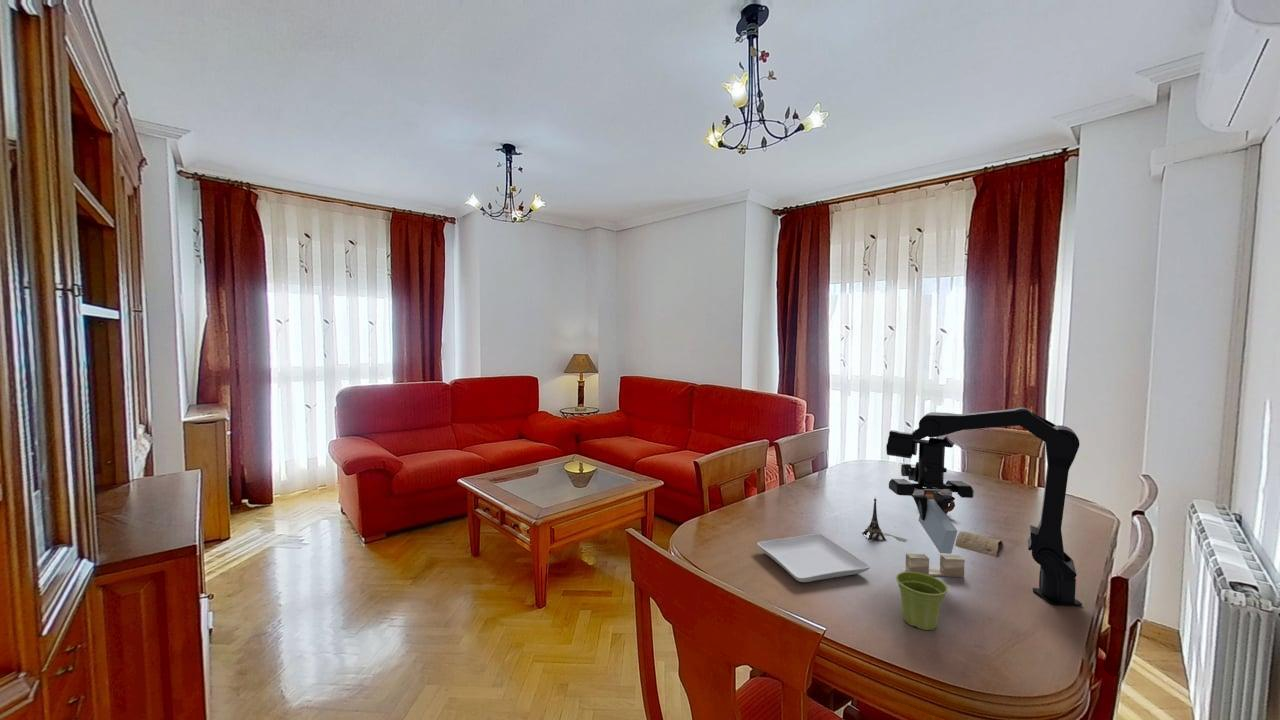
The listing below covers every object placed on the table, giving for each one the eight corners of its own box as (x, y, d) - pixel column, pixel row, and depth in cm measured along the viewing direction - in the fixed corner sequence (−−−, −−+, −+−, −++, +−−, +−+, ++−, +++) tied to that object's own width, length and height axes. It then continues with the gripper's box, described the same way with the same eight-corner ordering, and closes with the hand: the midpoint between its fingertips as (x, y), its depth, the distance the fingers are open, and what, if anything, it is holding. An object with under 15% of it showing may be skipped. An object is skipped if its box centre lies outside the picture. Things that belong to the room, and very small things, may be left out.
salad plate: (798, 591, 116) (798, 577, 116) (754, 552, 137) (754, 540, 136) (872, 579, 122) (873, 566, 121) (820, 544, 142) (820, 532, 142)
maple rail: (964, 577, 122) (964, 559, 122) (910, 575, 123) (910, 557, 123) (958, 572, 125) (958, 554, 124) (905, 570, 126) (905, 553, 125)
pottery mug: (911, 512, 168) (912, 489, 171) (927, 520, 172) (927, 497, 175) (948, 514, 158) (948, 489, 161) (964, 522, 162) (963, 497, 165)
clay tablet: (996, 560, 132) (997, 550, 132) (953, 549, 139) (953, 539, 139) (1003, 543, 143) (1003, 534, 143) (962, 533, 150) (963, 525, 150)
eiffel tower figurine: (908, 541, 144) (910, 497, 143) (895, 552, 137) (896, 505, 137) (858, 526, 155) (859, 485, 155) (843, 535, 149) (844, 492, 148)
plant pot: (927, 609, 108) (928, 571, 107) (956, 635, 98) (958, 593, 98) (886, 610, 108) (887, 571, 107) (911, 636, 98) (912, 594, 98)
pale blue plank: (951, 553, 119) (957, 530, 116) (940, 553, 119) (946, 530, 117) (928, 520, 130) (933, 499, 128) (918, 520, 130) (923, 498, 128)
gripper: (952, 454, 134) (949, 510, 135) (881, 452, 135) (879, 507, 136) (976, 465, 123) (973, 526, 124) (899, 463, 124) (896, 523, 125)
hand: (928, 520), depth 127 cm, fingers closed on pale blue plank, 3 cm apart
